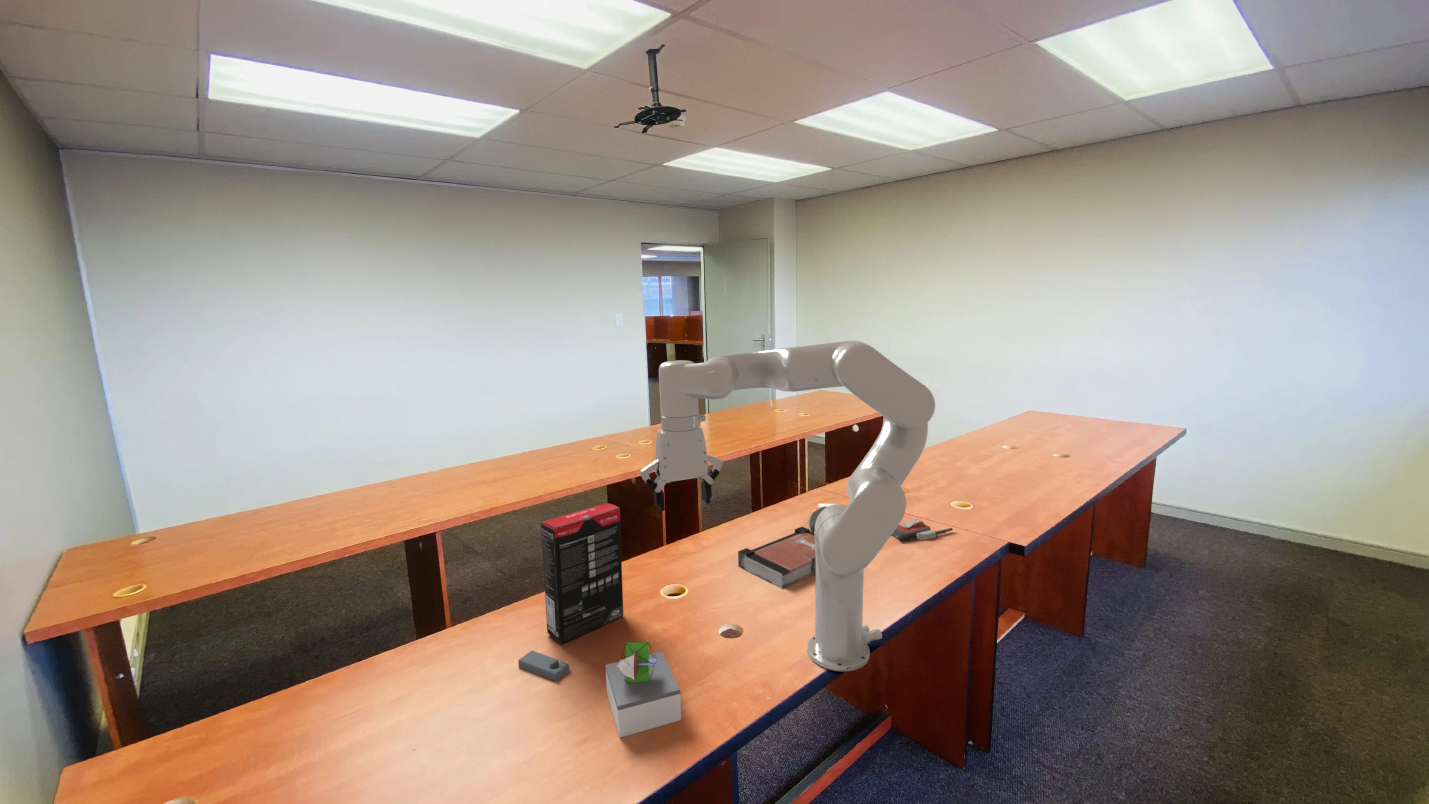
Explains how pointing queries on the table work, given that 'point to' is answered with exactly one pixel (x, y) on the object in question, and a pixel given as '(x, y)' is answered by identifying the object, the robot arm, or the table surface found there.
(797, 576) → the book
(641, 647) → the geometric puzzle
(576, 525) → the graphics card box
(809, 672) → the table surface
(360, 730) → the table surface
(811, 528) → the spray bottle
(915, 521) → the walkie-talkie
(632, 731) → the grey stand
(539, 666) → the bracket
